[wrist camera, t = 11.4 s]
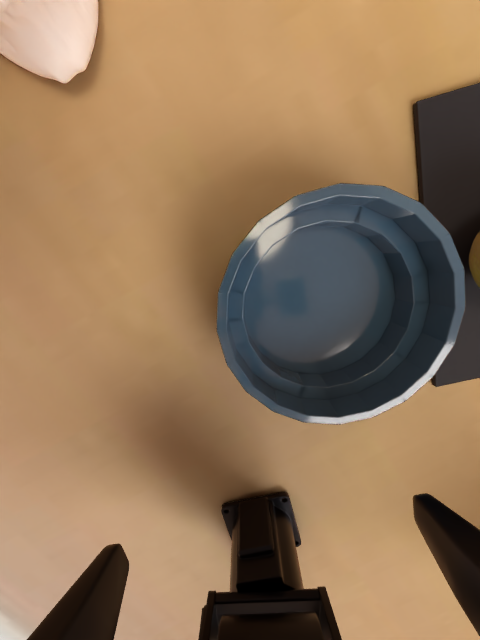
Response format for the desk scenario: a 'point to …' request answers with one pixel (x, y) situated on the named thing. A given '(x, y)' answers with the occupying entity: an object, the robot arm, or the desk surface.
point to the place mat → (454, 203)
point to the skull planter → (49, 35)
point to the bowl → (341, 303)
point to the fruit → (475, 259)
